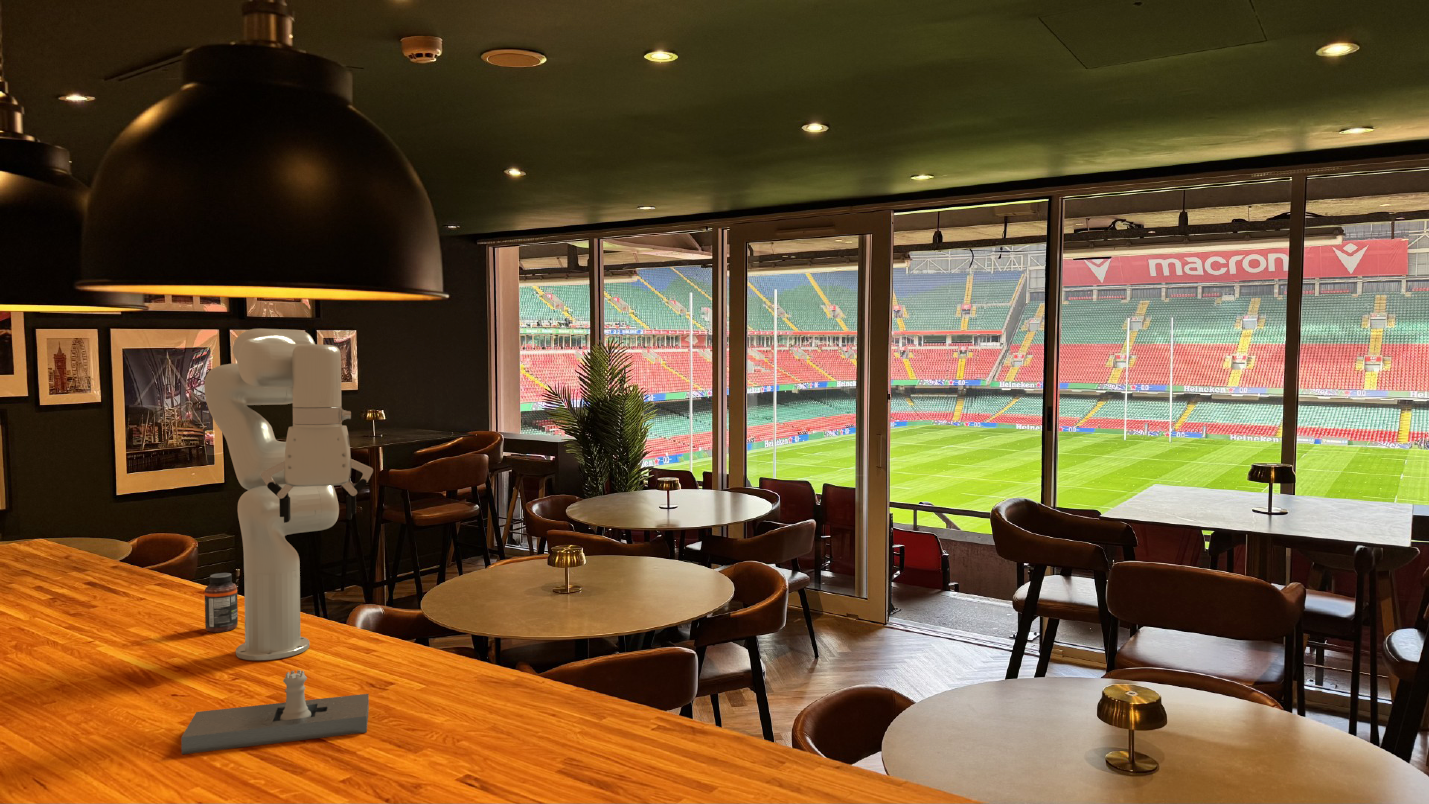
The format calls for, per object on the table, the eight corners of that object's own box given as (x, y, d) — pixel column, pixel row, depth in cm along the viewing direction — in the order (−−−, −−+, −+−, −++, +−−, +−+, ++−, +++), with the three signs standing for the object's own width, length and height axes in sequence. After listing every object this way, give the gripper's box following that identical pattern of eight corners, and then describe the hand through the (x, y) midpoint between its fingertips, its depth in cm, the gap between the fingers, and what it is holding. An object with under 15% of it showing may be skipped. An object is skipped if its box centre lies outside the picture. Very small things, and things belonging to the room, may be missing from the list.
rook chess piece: (318, 721, 137) (318, 669, 137) (298, 733, 133) (297, 679, 133) (293, 719, 138) (292, 667, 138) (272, 730, 134) (271, 676, 134)
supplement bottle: (208, 626, 190) (208, 572, 189) (240, 624, 192) (239, 570, 191) (202, 634, 184) (201, 578, 184) (234, 631, 186) (233, 576, 185)
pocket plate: (196, 727, 136) (196, 711, 135) (368, 708, 143) (368, 693, 143) (181, 754, 126) (181, 737, 126) (366, 732, 134) (366, 716, 134)
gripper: (373, 416, 159) (374, 514, 159) (263, 417, 153) (264, 519, 153) (372, 418, 151) (373, 520, 152) (256, 420, 146) (258, 526, 146)
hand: (318, 519), depth 153 cm, fingers open, 9 cm apart
